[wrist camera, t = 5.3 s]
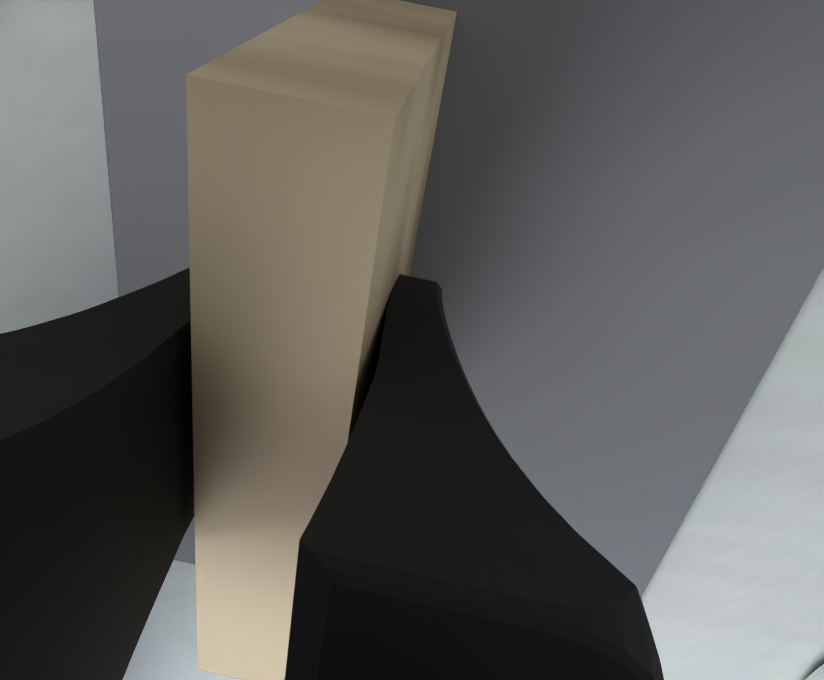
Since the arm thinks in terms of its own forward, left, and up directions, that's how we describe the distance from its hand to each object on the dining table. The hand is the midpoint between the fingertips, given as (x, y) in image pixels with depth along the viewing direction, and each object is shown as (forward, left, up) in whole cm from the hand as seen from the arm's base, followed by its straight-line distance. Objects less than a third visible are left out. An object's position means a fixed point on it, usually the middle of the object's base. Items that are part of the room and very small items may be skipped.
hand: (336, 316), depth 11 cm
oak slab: (0, 0, -2) cm, 3 cm away
